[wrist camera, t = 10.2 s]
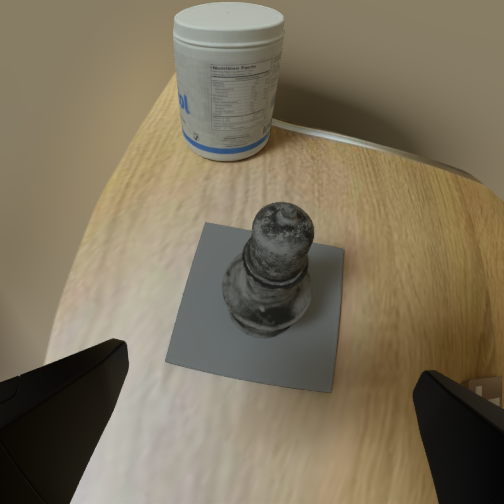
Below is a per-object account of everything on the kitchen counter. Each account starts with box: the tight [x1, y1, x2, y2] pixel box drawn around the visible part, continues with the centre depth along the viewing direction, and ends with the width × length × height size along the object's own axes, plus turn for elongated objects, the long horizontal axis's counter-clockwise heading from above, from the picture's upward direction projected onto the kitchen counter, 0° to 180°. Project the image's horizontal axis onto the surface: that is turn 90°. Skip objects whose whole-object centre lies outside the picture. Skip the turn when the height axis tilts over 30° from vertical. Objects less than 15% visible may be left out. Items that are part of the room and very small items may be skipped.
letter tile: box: [462, 376, 502, 408], centre depth 19 cm, size 5×5×2 cm
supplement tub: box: [173, 2, 284, 161], centre depth 26 cm, size 10×10×15 cm
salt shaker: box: [222, 202, 314, 338], centre depth 17 cm, size 6×6×12 cm
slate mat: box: [165, 222, 343, 393], centre depth 23 cm, size 12×12×1 cm
